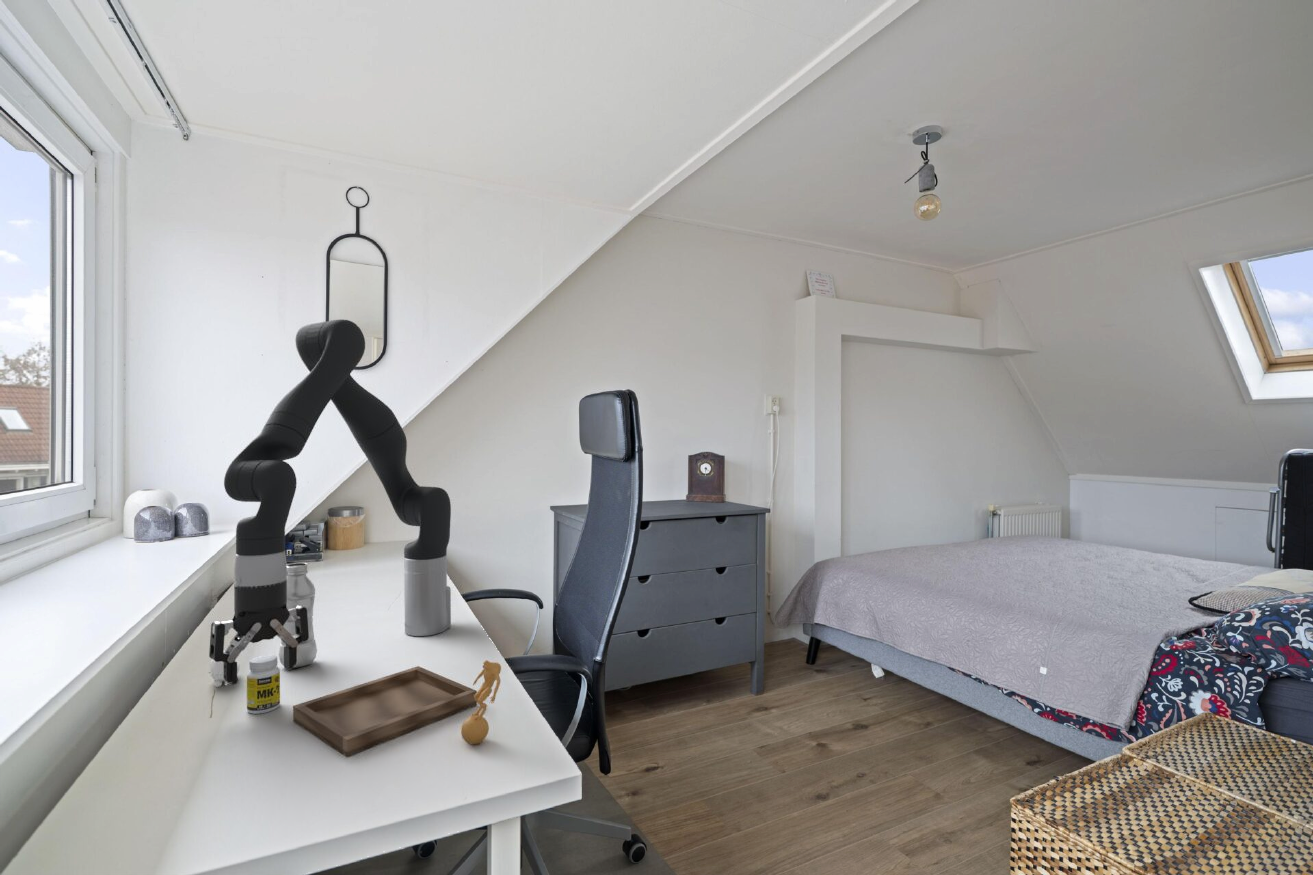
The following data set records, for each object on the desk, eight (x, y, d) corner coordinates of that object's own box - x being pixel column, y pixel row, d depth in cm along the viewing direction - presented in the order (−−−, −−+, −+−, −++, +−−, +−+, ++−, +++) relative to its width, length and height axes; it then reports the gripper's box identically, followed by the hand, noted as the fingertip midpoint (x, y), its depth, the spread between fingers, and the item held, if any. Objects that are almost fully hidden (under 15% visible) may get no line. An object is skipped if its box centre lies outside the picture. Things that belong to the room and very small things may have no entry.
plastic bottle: (301, 672, 125) (299, 568, 124) (270, 670, 126) (269, 567, 126) (324, 660, 131) (323, 561, 131) (295, 658, 132) (294, 560, 132)
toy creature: (205, 692, 116) (205, 657, 116) (214, 676, 123) (214, 643, 123) (235, 687, 118) (235, 653, 118) (243, 672, 125) (242, 640, 125)
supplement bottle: (256, 717, 106) (255, 665, 106) (241, 710, 108) (240, 660, 108) (286, 706, 110) (285, 656, 110) (271, 700, 113) (270, 651, 112)
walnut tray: (418, 679, 121) (418, 665, 121) (476, 705, 110) (476, 690, 110) (293, 721, 104) (292, 705, 104) (347, 757, 93) (346, 739, 93)
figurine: (453, 735, 100) (452, 657, 99) (491, 725, 103) (491, 649, 103) (470, 758, 93) (470, 674, 92) (511, 746, 96) (510, 665, 96)
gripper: (296, 569, 117) (296, 659, 117) (203, 583, 106) (203, 683, 106) (315, 575, 112) (315, 669, 112) (219, 590, 101) (220, 695, 101)
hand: (261, 675), depth 109 cm, fingers open, 8 cm apart
